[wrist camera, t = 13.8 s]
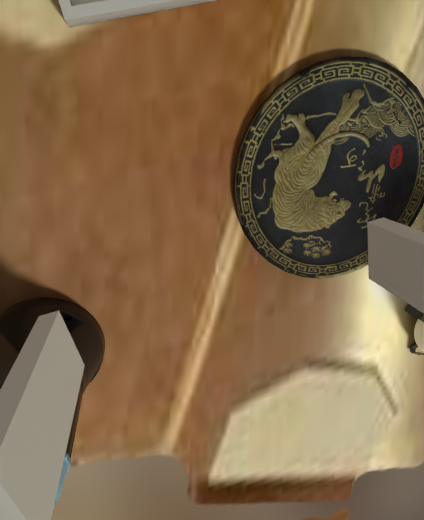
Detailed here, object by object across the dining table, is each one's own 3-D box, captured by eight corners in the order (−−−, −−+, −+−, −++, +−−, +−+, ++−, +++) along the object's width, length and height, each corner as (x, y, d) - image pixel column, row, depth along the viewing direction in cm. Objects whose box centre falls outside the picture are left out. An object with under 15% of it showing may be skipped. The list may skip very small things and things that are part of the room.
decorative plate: (468, 71, 44) (403, 280, 54) (455, 74, 46) (395, 275, 56) (251, 37, 38) (224, 280, 48) (246, 41, 39) (222, 275, 50)
